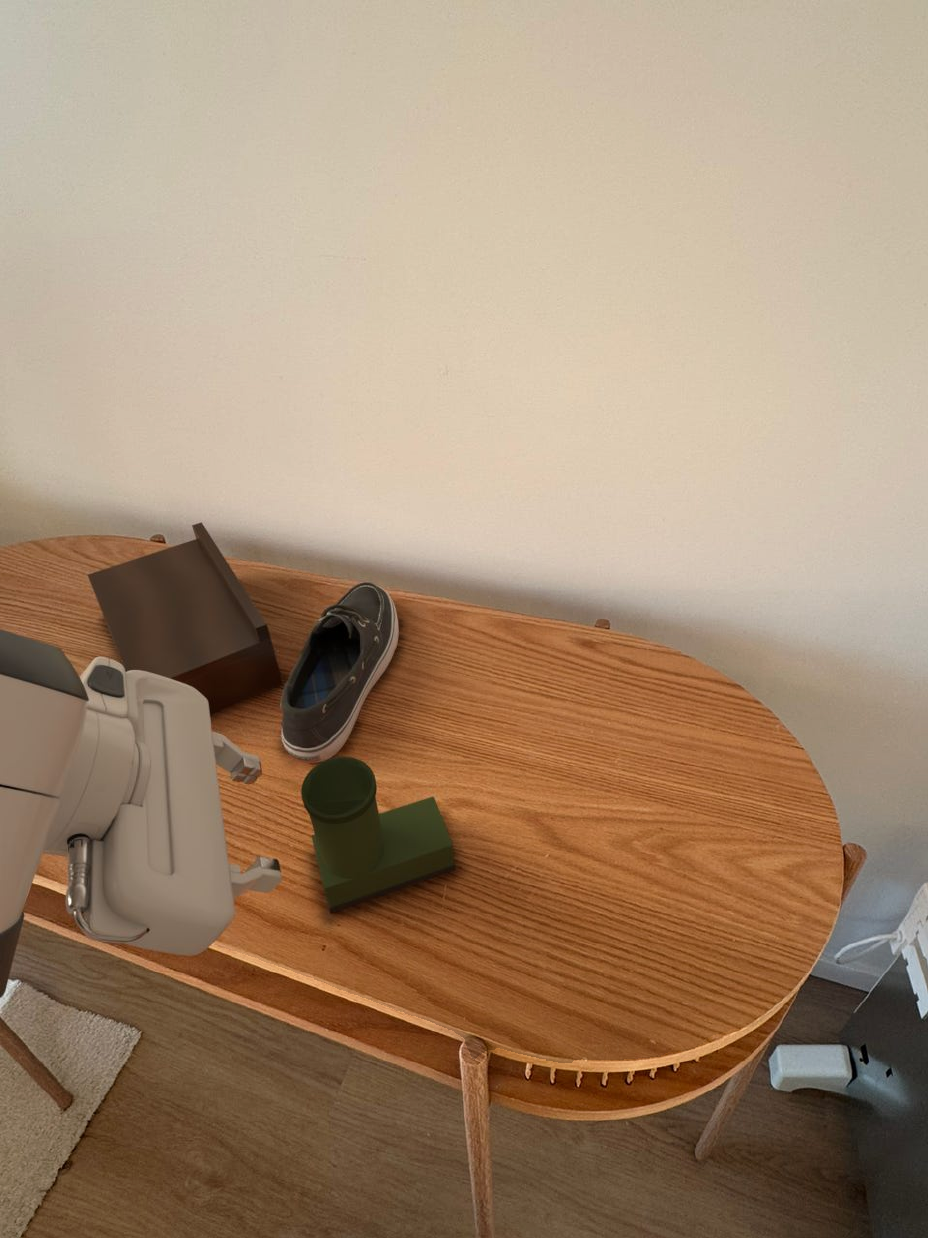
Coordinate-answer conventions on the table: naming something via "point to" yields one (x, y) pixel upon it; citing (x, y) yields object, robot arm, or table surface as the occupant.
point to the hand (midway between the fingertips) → (266, 820)
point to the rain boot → (370, 835)
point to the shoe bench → (189, 621)
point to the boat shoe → (337, 672)
